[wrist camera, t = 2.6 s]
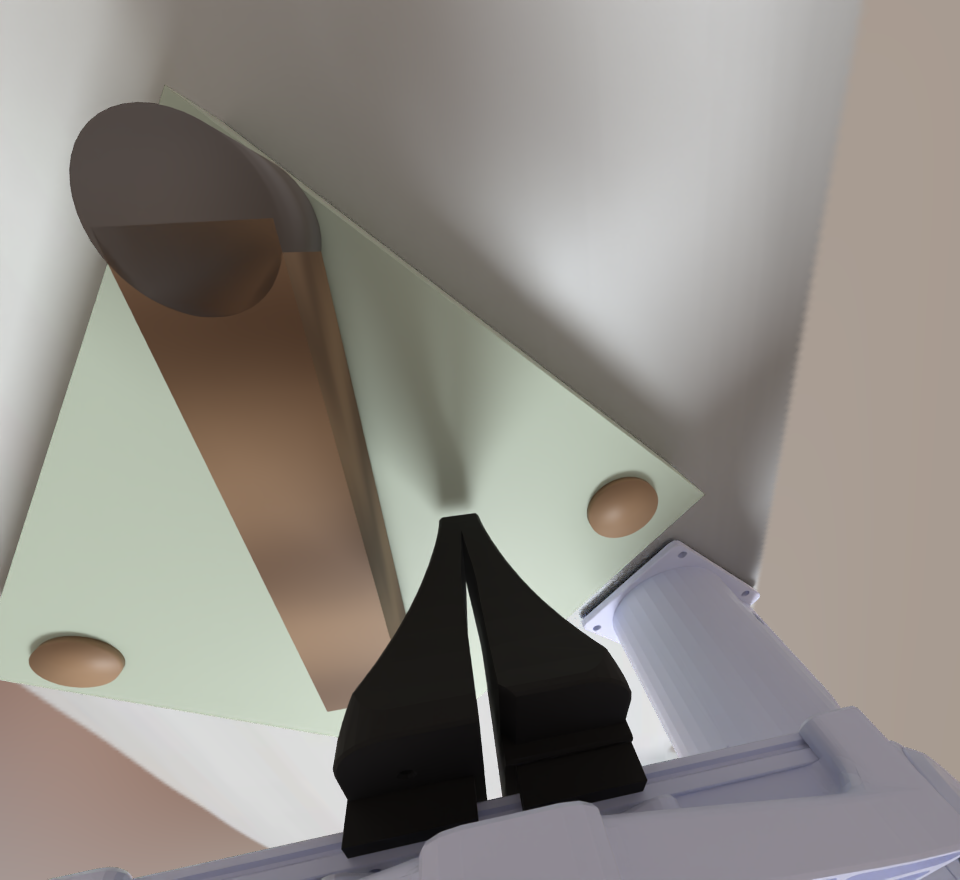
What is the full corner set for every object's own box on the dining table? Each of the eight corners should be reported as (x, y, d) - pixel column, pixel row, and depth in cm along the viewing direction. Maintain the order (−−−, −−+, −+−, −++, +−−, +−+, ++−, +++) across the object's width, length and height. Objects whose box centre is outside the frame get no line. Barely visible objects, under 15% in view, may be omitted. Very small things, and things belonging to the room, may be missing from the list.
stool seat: (670, 464, 18) (709, 498, 16) (419, 707, 25) (419, 757, 22) (221, 120, 10) (155, 78, 7) (33, 620, 17) (-33, 683, 14)
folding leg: (151, 151, 8) (21, 104, 5) (301, 146, 8) (246, 99, 6) (340, 638, 16) (324, 712, 14) (410, 626, 17) (408, 696, 14)
